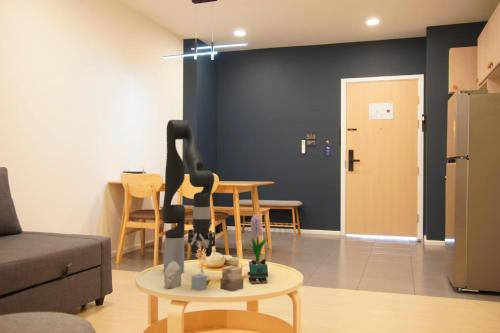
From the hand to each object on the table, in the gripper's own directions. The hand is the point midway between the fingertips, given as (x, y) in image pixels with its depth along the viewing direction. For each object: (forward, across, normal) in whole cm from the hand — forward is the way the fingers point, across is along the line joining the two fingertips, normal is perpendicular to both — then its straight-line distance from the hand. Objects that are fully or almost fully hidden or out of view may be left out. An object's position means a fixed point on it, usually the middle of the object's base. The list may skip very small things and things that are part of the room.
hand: (201, 255), depth 188 cm
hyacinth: (+14, +6, +31) cm, 35 cm away
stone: (+15, -11, -6) cm, 19 cm away
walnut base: (+15, +10, +9) cm, 20 cm away
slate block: (+14, 0, -1) cm, 15 cm away
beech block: (+10, +10, +9) cm, 17 cm away
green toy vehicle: (+15, +11, +25) cm, 31 cm away
